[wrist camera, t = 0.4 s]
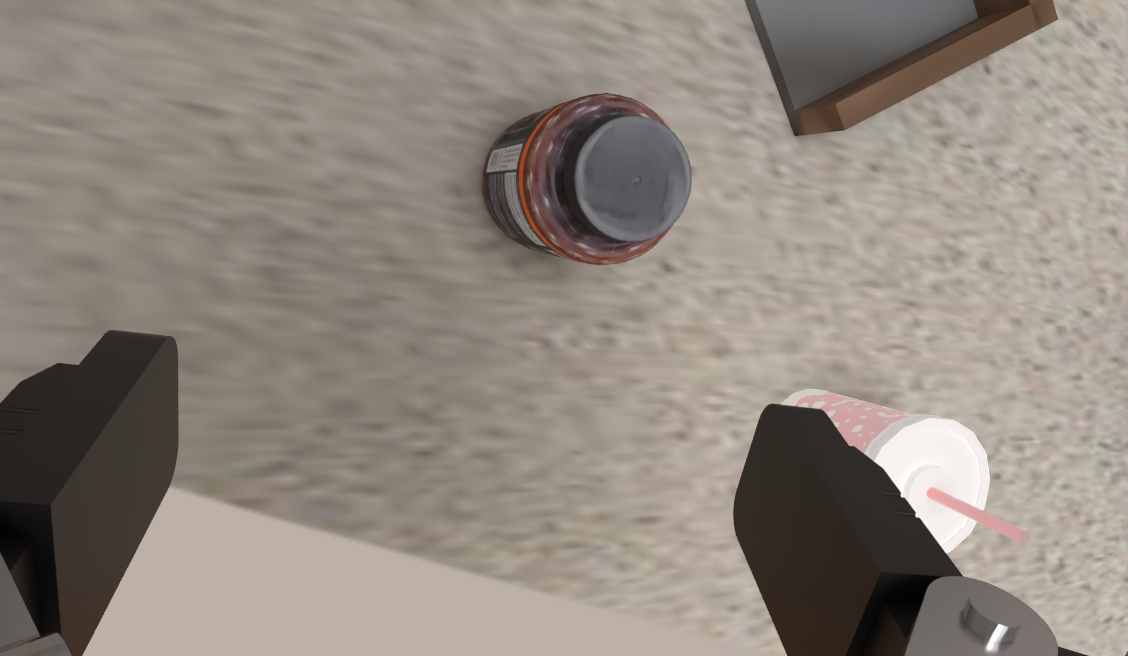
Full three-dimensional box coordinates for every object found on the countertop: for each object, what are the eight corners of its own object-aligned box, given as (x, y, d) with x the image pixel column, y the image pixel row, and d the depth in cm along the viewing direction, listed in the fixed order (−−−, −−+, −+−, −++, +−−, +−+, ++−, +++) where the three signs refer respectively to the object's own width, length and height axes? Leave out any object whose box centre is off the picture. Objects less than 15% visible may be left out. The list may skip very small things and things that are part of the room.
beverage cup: (881, 421, 45) (1122, 517, 32) (808, 514, 45) (1020, 651, 31) (806, 348, 43) (1028, 418, 30) (729, 444, 43) (919, 559, 29)
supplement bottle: (599, 104, 38) (712, 70, 28) (619, 237, 40) (735, 254, 29) (467, 124, 37) (533, 96, 26) (491, 262, 38) (564, 290, 27)
